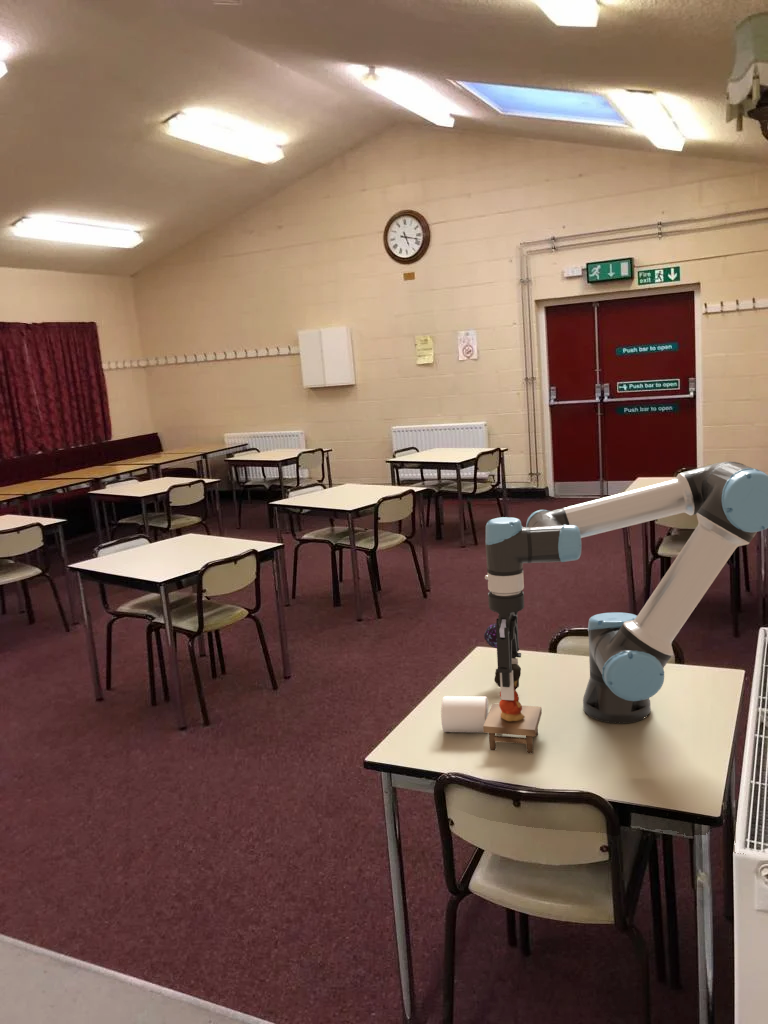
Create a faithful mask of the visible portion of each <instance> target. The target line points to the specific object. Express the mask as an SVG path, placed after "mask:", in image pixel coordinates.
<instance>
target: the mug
mask: <svg viewBox="0 0 768 1024" xmlns="http://www.w3.org/2000/svg"><path fill="white" fill-rule="evenodd" d="M440 708H441V709H440V710H441V711H440V715H441V716H440V718H441V728H442V731H443V733H478V734H479V733H481V734H482V733H484V730H483V726H484V723H485V721H486V718H487V716H488V713H489V711H490V710H489V701H488V697H487V696H485V695H483V696H480V695H478V696H476V695H475V696H474V695H473V696H472V695H471V696H470V695H469V696H466V695H465V696H464V695H444V696H443V697H442V700H441V707H440ZM484 734H485V733H484Z"/></svg>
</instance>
